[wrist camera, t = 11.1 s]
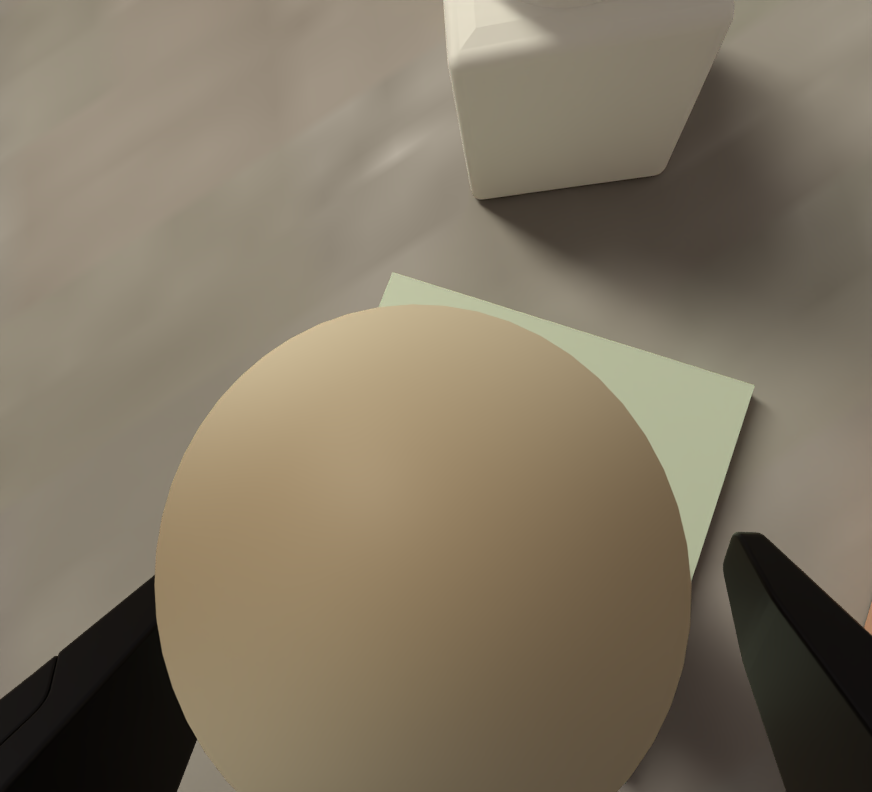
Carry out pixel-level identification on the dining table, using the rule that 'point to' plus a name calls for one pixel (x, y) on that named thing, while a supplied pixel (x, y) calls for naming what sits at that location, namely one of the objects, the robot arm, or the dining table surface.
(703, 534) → the sage board
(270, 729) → the beige ribbed peg
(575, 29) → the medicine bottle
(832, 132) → the dining table surface
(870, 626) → the terracotta socket
